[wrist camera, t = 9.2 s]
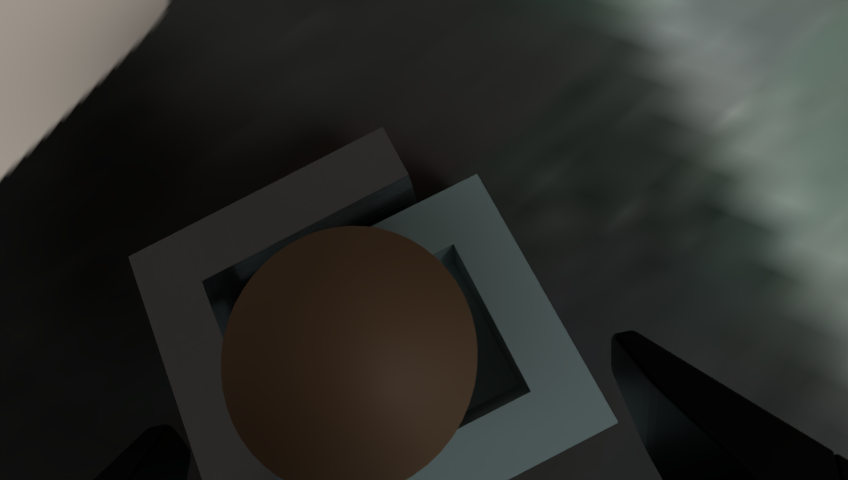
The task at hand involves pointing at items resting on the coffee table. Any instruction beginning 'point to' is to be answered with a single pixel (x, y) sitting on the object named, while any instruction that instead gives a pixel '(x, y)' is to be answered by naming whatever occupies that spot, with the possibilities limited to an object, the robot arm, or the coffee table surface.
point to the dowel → (349, 357)
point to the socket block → (503, 344)
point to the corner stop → (233, 268)
